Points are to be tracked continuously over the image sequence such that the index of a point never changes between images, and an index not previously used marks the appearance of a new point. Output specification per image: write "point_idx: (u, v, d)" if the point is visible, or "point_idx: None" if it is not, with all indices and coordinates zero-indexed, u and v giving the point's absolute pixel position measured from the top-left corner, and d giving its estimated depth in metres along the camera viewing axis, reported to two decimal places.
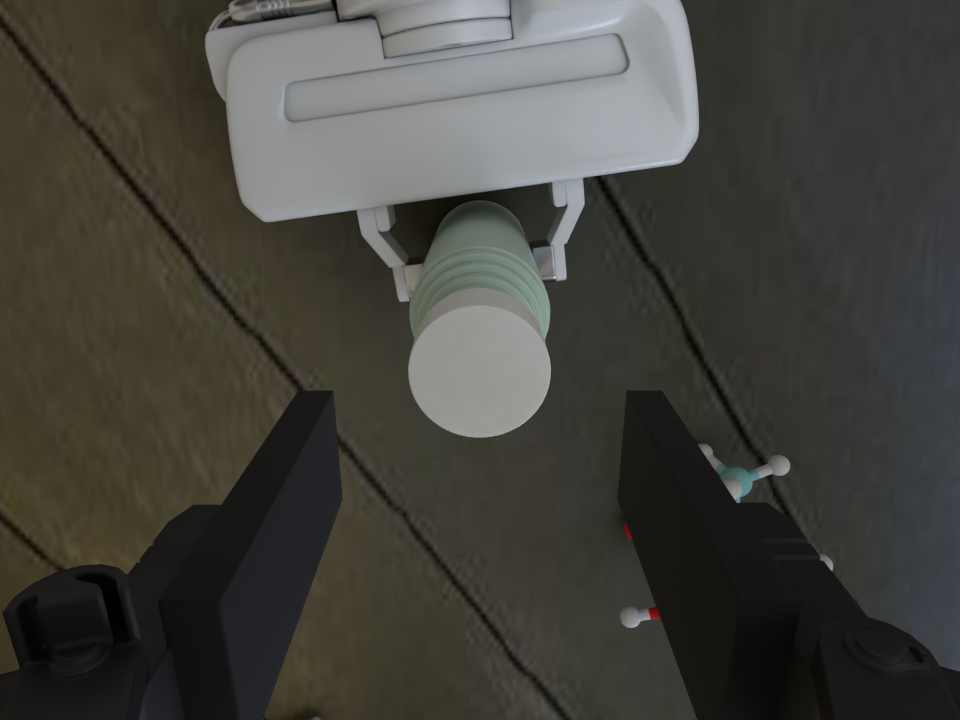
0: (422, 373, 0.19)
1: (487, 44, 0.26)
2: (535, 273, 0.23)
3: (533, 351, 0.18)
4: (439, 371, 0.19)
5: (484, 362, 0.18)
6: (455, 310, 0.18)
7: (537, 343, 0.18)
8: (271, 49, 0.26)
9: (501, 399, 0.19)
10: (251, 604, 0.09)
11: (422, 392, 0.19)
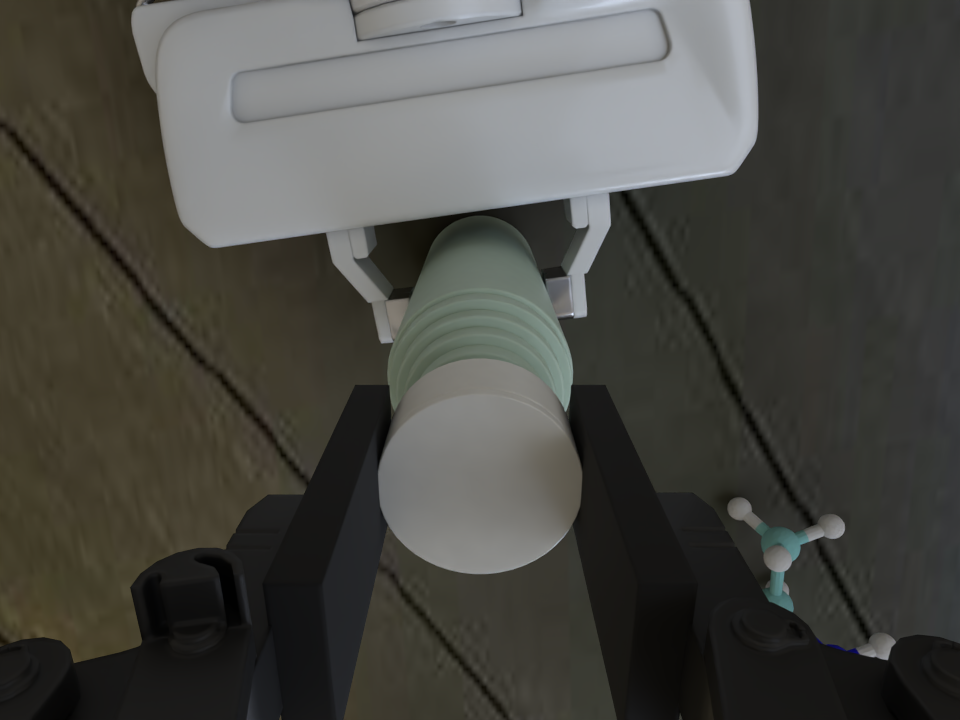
0: (397, 488, 0.13)
1: (489, 23, 0.21)
2: (554, 323, 0.18)
3: (559, 458, 0.12)
4: (421, 485, 0.13)
5: (487, 473, 0.13)
6: (444, 401, 0.12)
7: (565, 447, 0.12)
8: (212, 30, 0.20)
9: (511, 523, 0.13)
10: (340, 589, 0.09)
11: (397, 514, 0.13)
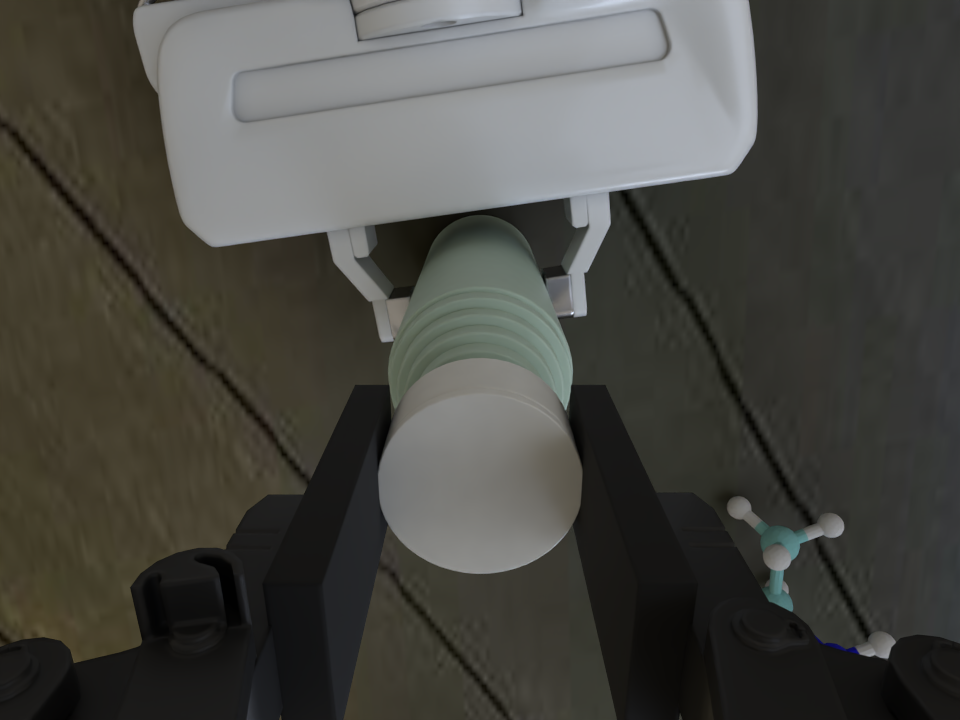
0: (492, 557, 0.13)
1: (490, 23, 0.21)
2: (554, 322, 0.18)
3: (431, 425, 0.12)
4: (485, 537, 0.13)
5: (461, 485, 0.13)
6: (393, 530, 0.13)
7: (417, 422, 0.12)
8: (214, 30, 0.21)
9: (515, 455, 0.12)
10: (341, 589, 0.09)
11: (520, 554, 0.13)
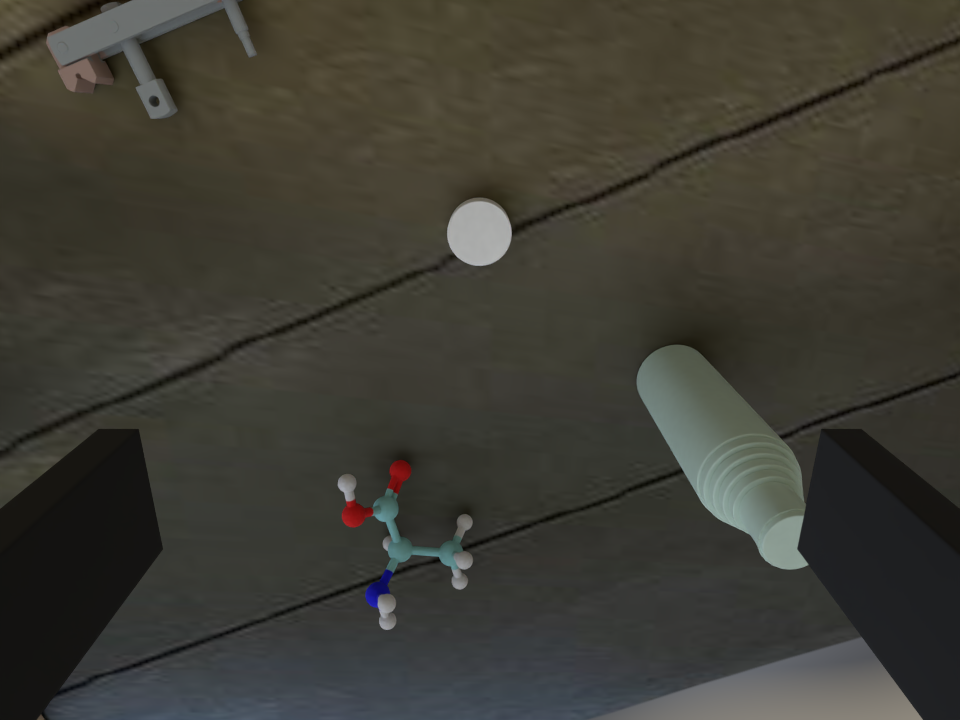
0: (467, 210, 0.41)
1: None
2: None
3: (500, 250, 0.41)
4: (471, 217, 0.41)
5: (485, 233, 0.41)
6: (501, 210, 0.41)
7: (504, 249, 0.41)
8: None
9: (473, 248, 0.41)
10: None
11: (459, 215, 0.41)
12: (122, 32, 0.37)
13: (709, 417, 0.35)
